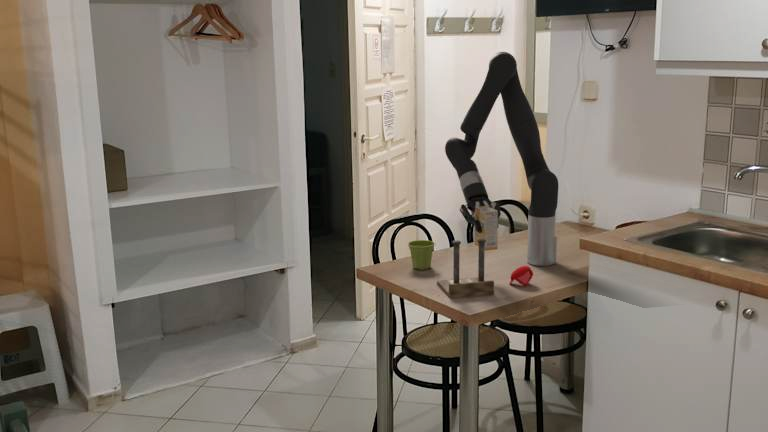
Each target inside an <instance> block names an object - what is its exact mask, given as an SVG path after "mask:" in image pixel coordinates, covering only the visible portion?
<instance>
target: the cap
mask: <svg viewBox="0 0 768 432" xmlns="http://www.w3.org/2000/svg"><path fill="white" fill-rule="evenodd" d="M533 276H534V272H533V270H532V268H531V267H530V266H529V265H528V266H527V265H523V266H520V267H517V268H515V269H514V270H513V272H512V273H511V275H510V282H509V285H512V284H513V282H514V281H516V282H518V284H520V285H522V286H523V287H528V284H529V283H530V281H531V280H532V278H533Z"/></svg>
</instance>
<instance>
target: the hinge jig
mask: <svg viewBox="0 0 768 432" xmlns="http://www.w3.org/2000/svg"><path fill="white" fill-rule="evenodd" d="M477 242H479V247H478V261H477V263H478V267H477V269H478V270H477V271H478V272H477V273H478V276H477V277H466V278H460V247H461V246H460V245H461V244H462V241H461V240H452V244H453V273H452V274H453V279H441V280H439V279H438V280H436V285H437V286H438V288H440V289H441V290H442V291H443V292H444V294H445V295H446V296H447V297H448V298H449V299H462V298H461V297H463V298H473V296H475V297H486V296H485V295H488V296H495V290H494V289H495V281H494V280H485V242H486V239H478V240H477Z"/></svg>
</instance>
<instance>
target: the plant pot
mask: <svg viewBox="0 0 768 432" xmlns="http://www.w3.org/2000/svg"><path fill="white" fill-rule="evenodd" d="M435 245H436V242H434V241H433V240H428V239H427V240H423V239H419V240H412V241H411V240H410V241H409V242H407V246H408V247H409V248H408V249H409V251H410V256H411V262H412V264H411V265H412V268H413V269H418V270H421V271H422V270H428V269H431V265H432V257H433V250H434V246H435Z"/></svg>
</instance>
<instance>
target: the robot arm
mask: <svg viewBox="0 0 768 432" xmlns="http://www.w3.org/2000/svg"><path fill="white" fill-rule="evenodd" d="M488 62H489V63H488V69H487V70H488V71H487V72H486V73H487V74H486V76H485V79H484V82H483V84H482V86H481V88H480V90H479V92H478V94H477V96H476V98H475V99H474V100H473V102H472V104H471V105H470V107H469V109H468V110H467V112H466V114H465V116H464V118H463V121H462V122H461V125H460V131H461V132H462V133H463V134H465V135H464V139H461V138H458V137H451V138H449V139H448V140H447V141H446V142H445V146H444V152H445V155H446V157H447V160H448V161H449V163H450V164H451V165H452V167H453V168H454V170H455V171H456V174H457V178H458V181H459V185H460V190H461V191H462V193H463V197H464V200H465V203H466V204H461V206H460V208H459V211H460V213H461V215H462V216H463V218H464V220H465V221H466V223H468V224H470V223H471V224H473V226H474V230H475V229H476V231H477V232H478V233H481V232H482V227H481V224H480V222H479V220H478V215H477V210H476V207H479V206H488V207H491V208H493V209H495V210H497V211H498V220H499V219H500V217H501V215H502V214H501V204H500V203H501V202H500V200H499V201H498V200H497V201H496V202H494V201H491V200H490V198H489V195H488V194H489V193H488V192H487V190H486V186H485V183H484V180H483V179H482V176H481V175H480V172H479V171H480V170H479V169H478V165H477V163H476V162H475V161H474V160H473V159H472V158H473V157H474V156H475V153H476V150H477V146H478V141H479V137H480V134H481V132H482V130H483V127H484V126H485V124H486V122H487V119H488V118H489V116H490V114H491V112H492V109H493V108H494V105H495V103H496V101H497V99H498V97H499V96H501V100H502V104H503V111H504V115H505V118H506V122H507V126H508V129H509V131H510V134H511V136H512V139H513V142H514V144H515V147H516V149H517V151H518V153H519V156H520V159H521V160H522V164H523V168H524V172H525V173H524V174H525V177H526V181H527V185H528V188H529V190H530V204H529V207H528V214H527V215H528V217H527V218H528V221H527V256H526V259H527V260H526V263H527V264H529V265H531V266H537V267H538V266H540V267H541V266H542V267H545V266H552V265H555V264H557V253H558V252H557V247H558V246H557V245H558V238H557V236H556V211H557V209H558V202H559V201H558V200H559V199H558V198H559V179H558V177H557V176H556V174H555V173H554V172H553V171H551V170H550V168H549V167H548V165H547V162H546V159H545V158H544V155H543V151H542V146H541V145H542V144H541V143H542V142H541V136H540V135H541V134H540V130H539V126H538V122H537V120H536V117H535V114H534V112H533V109H532V106H531V105H530V102H529V101H528V99H527V97H526V94H525V92H524V90H523V88H522V84H521V79H520V76H519V73H518V64H517V60H516V59H515V56H513V54H511V53H510V52H507V51H498V52H496V53H495V54H494V55H492V56H491V58H490V60H489V61H488ZM469 211H471V212H472V214H471V212H469ZM498 228H499V224H498Z"/></svg>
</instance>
